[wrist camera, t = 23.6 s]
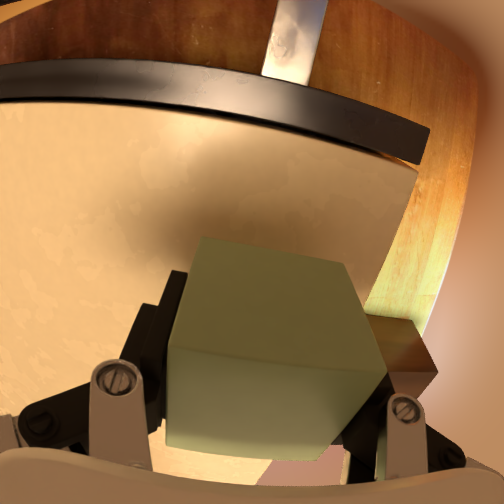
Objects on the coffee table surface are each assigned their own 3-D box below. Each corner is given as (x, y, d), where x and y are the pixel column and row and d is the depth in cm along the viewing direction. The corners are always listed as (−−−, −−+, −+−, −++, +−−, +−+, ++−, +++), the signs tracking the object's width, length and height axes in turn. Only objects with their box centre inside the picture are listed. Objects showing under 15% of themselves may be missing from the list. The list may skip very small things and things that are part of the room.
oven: (15, 83, 30) (-139, 126, 7) (311, 113, 34) (420, 172, 11) (25, 277, 45) (-58, 385, 23) (252, 328, 49) (251, 490, 26)
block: (200, 234, 11) (167, 344, 6) (344, 262, 11) (389, 371, 7) (186, 342, 13) (165, 447, 9) (302, 359, 13) (315, 461, 9)
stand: (350, 312, 48) (370, 370, 37) (412, 320, 49) (438, 372, 38) (324, 363, 53) (335, 420, 43) (381, 367, 54) (399, 419, 44)
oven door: (22, 30, 26) (-130, 39, 4) (327, 50, 30) (458, 2, 8) (14, 81, 30) (-138, 123, 7) (312, 111, 34) (419, 166, 11)
